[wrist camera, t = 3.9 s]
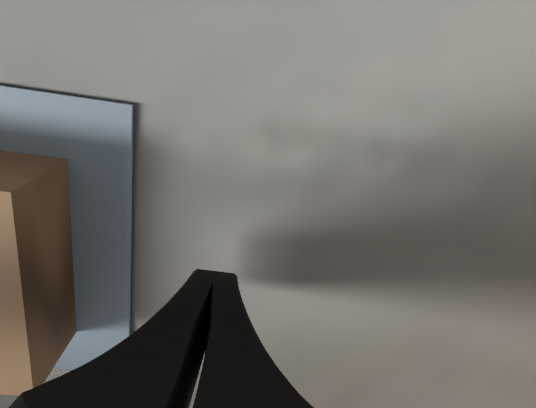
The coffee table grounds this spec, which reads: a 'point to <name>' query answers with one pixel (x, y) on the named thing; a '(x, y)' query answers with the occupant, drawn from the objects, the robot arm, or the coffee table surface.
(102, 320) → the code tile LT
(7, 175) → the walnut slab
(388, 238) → the coffee table surface
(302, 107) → the coffee table surface
